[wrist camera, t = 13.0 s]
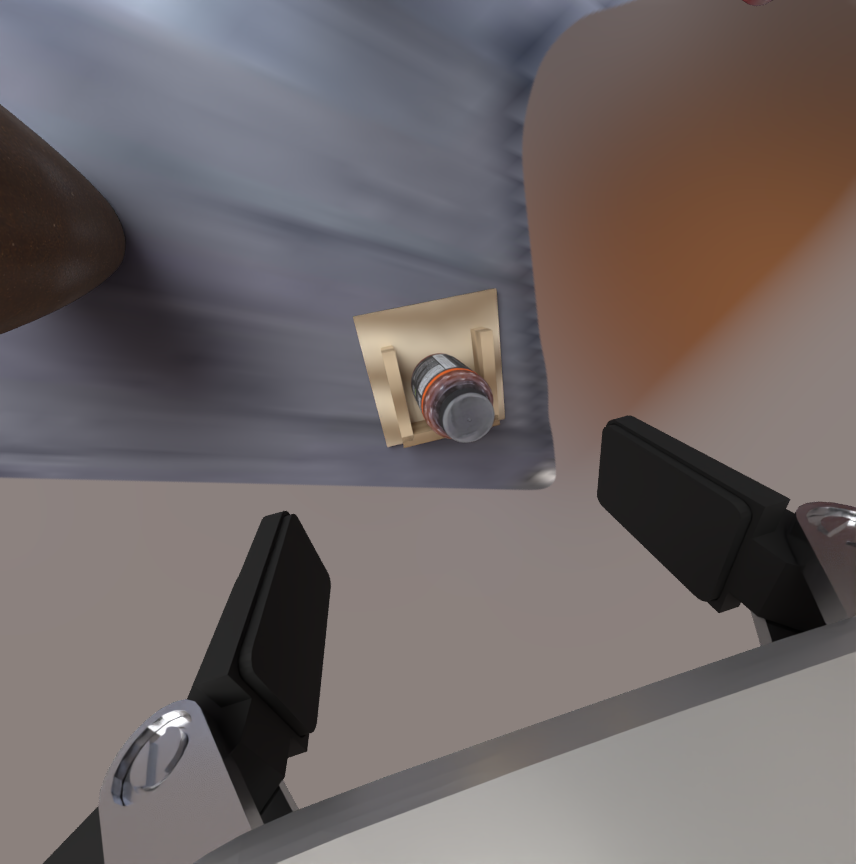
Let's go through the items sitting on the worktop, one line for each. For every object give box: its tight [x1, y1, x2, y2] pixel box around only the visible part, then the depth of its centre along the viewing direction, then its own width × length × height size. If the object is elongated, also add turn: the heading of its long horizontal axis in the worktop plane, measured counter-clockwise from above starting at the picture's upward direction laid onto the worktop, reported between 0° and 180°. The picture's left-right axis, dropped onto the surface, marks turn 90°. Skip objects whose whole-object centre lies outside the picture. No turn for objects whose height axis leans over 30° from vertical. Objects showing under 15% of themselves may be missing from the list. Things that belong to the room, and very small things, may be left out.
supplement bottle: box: [411, 353, 495, 443], centre depth 28 cm, size 6×6×11 cm
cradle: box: [353, 289, 505, 448], centre depth 32 cm, size 14×14×4 cm
